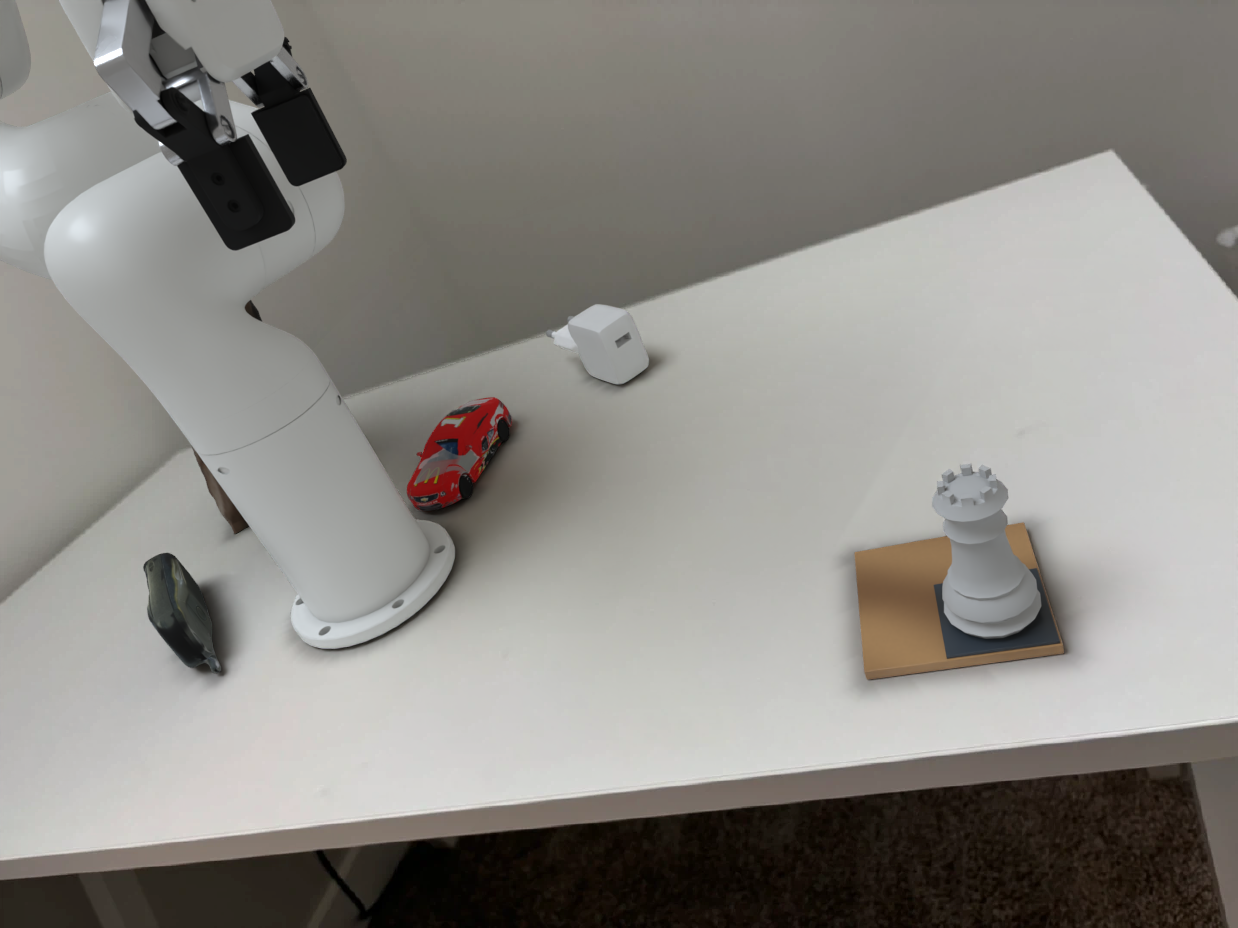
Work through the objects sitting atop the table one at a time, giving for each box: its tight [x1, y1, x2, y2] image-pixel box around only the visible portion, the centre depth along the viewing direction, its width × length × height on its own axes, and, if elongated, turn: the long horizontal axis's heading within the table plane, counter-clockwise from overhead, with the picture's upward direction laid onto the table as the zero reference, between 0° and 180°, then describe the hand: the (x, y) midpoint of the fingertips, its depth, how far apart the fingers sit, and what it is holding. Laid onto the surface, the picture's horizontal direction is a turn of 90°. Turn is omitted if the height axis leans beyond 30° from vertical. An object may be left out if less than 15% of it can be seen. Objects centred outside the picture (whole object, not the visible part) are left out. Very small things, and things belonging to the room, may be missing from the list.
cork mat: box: [853, 521, 1065, 681], centre depth 48 cm, size 9×9×1 cm
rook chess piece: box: [931, 463, 1041, 639], centre depth 44 cm, size 4×4×8 cm
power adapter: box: [545, 303, 650, 385], centre depth 85 cm, size 11×5×6 cm, turn 36°
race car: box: [406, 396, 513, 512], centre depth 79 cm, size 13×5×4 cm, turn 160°
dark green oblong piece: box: [142, 552, 222, 674], centre depth 72 cm, size 5×3×15 cm
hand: (295, 204), depth 45 cm, fingers open, 9 cm apart
